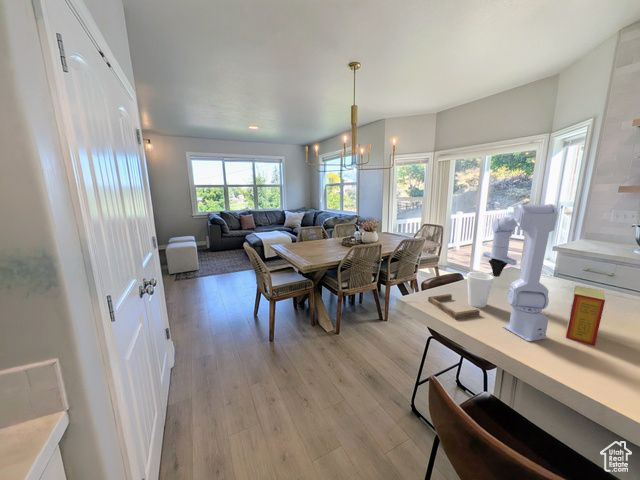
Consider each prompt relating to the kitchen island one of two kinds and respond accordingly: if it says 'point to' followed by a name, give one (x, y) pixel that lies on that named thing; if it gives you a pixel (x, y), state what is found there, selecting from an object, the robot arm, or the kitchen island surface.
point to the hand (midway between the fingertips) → (496, 276)
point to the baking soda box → (585, 315)
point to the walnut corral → (455, 315)
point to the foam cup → (479, 288)
